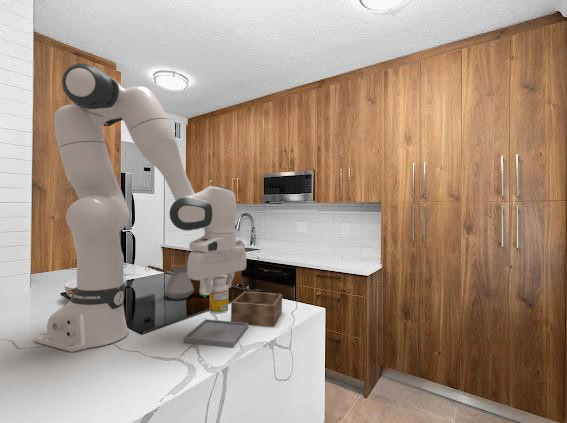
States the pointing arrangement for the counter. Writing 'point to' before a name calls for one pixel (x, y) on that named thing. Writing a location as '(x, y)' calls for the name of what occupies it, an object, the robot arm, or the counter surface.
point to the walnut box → (257, 308)
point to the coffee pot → (177, 282)
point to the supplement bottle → (219, 296)
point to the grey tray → (217, 333)
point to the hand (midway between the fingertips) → (218, 290)
